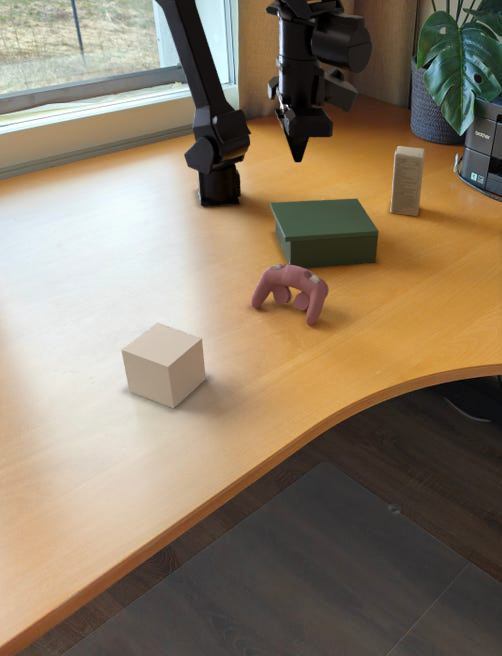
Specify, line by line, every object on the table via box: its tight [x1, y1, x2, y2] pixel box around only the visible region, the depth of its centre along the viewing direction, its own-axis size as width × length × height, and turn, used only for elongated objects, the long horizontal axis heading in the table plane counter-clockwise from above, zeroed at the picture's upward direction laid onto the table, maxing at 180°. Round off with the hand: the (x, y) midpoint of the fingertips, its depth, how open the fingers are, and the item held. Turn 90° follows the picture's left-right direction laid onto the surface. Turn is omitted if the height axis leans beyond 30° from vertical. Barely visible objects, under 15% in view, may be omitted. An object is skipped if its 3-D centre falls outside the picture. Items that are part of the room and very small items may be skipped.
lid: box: [269, 198, 380, 242], centre depth 103 cm, size 14×12×1 cm
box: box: [389, 145, 426, 217], centre depth 118 cm, size 5×4×11 cm
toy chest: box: [274, 218, 379, 270], centre depth 105 cm, size 14×12×5 cm
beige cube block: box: [120, 322, 207, 409], centre depth 75 cm, size 6×6×6 cm
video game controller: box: [250, 263, 330, 326], centre depth 90 cm, size 10×5×7 cm, turn 71°
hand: (297, 161), depth 103 cm, fingers closed
